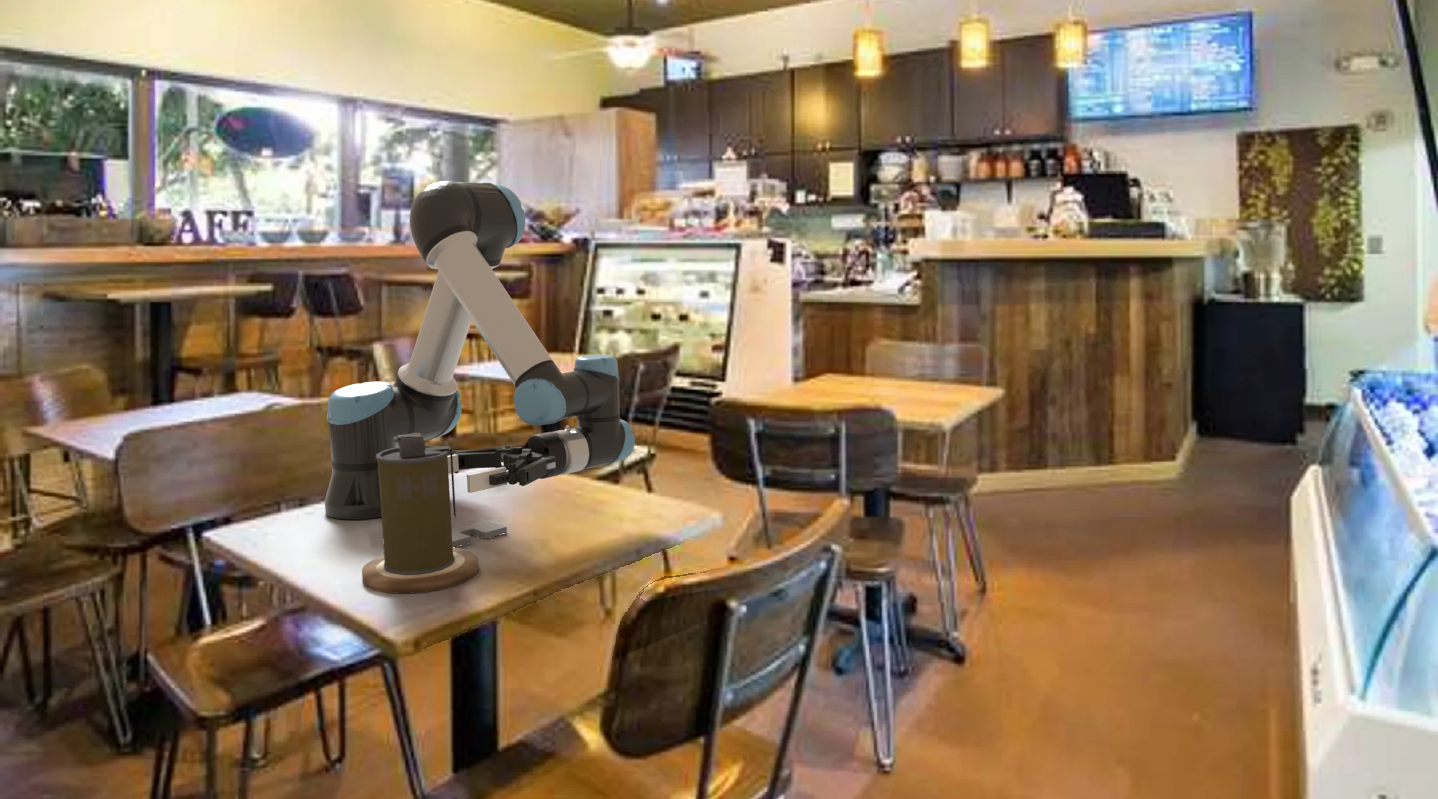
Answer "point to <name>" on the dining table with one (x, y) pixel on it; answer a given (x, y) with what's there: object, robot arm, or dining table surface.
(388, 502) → the canister
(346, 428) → the robot arm
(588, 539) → the dining table surface
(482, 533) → the notched board
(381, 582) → the beige plate
